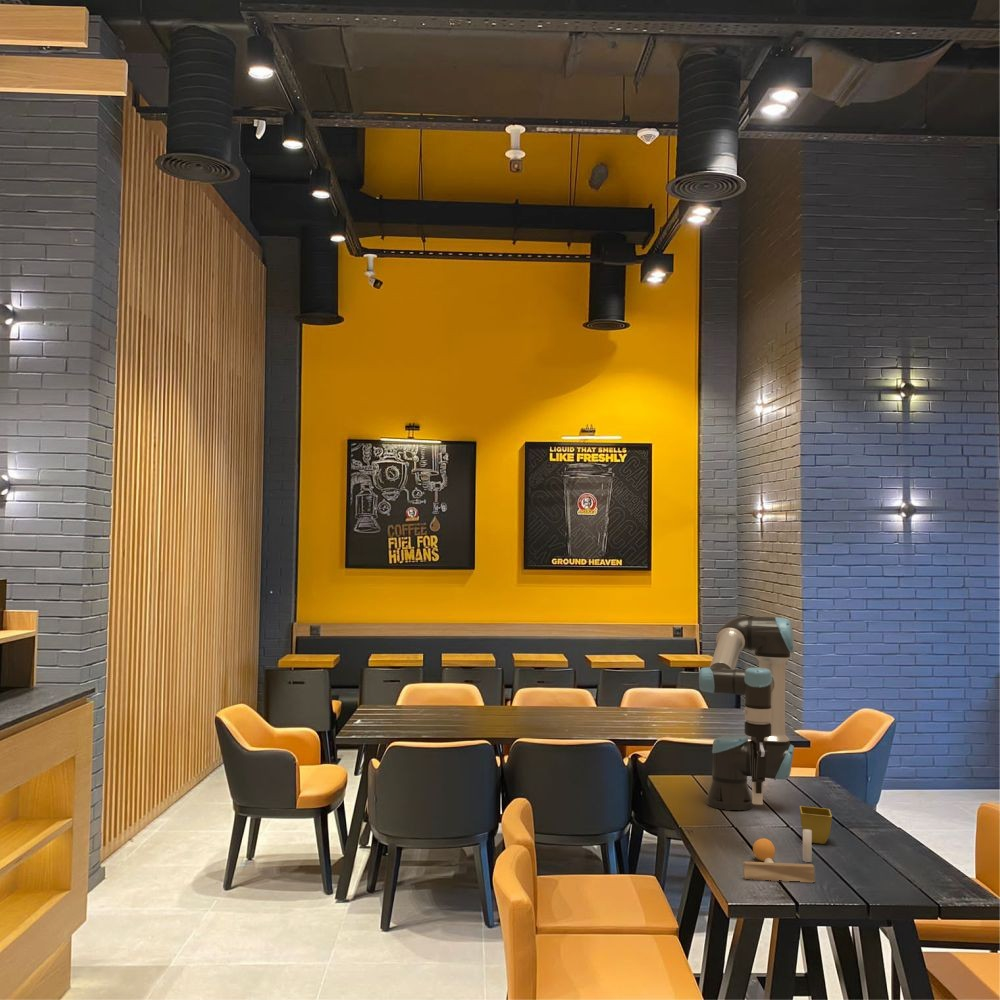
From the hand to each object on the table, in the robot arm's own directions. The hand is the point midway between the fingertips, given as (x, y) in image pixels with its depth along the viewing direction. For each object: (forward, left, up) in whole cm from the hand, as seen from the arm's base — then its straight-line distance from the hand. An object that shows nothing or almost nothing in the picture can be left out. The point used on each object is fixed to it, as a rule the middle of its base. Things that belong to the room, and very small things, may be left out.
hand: (757, 803), depth 262 cm
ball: (+9, 0, -10) cm, 14 cm away
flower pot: (-11, +20, -14) cm, 26 cm away
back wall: (+24, 0, -13) cm, 28 cm away
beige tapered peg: (+8, +12, -13) cm, 20 cm away
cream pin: (+14, 0, -12) cm, 19 cm away
